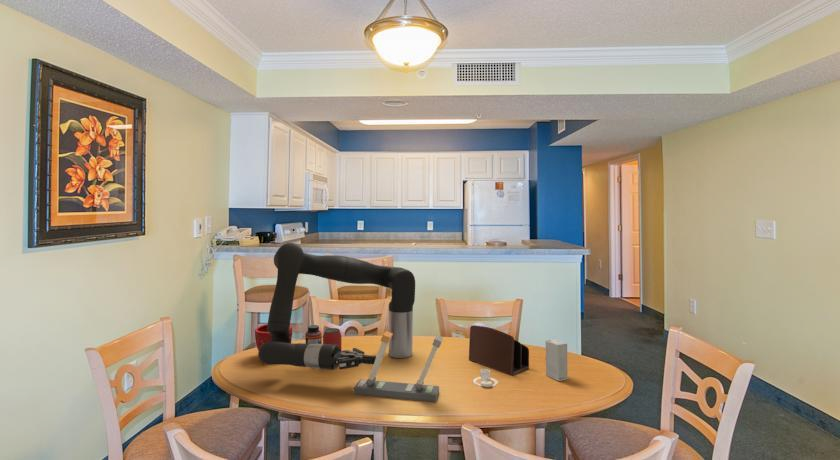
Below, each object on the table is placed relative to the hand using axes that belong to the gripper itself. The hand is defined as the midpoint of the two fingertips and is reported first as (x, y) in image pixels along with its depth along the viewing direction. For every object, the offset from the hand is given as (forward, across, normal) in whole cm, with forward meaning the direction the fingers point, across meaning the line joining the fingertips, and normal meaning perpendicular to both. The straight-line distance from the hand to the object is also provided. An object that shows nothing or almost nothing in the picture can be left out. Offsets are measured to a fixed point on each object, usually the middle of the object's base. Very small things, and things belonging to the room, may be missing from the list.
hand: (375, 360), depth 128 cm
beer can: (-23, +20, +10) cm, 32 cm away
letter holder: (+36, +32, +10) cm, 49 cm away
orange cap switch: (-1, 0, +6) cm, 7 cm away
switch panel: (+7, 0, +10) cm, 12 cm away
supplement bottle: (-33, +26, +10) cm, 43 cm away
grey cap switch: (+14, 0, +6) cm, 15 cm away
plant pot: (-46, +20, +10) cm, 51 cm away
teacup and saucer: (+30, +13, +11) cm, 34 cm away
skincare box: (+55, +23, +10) cm, 61 cm away
